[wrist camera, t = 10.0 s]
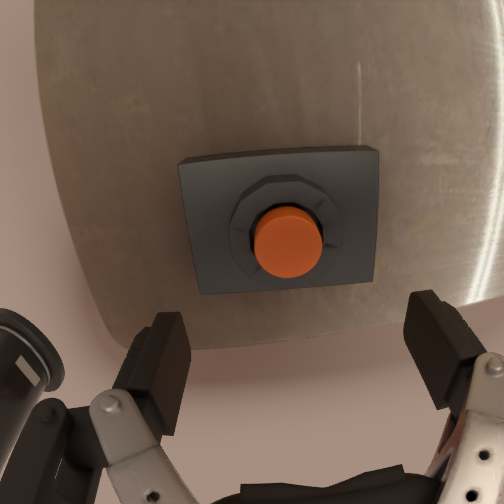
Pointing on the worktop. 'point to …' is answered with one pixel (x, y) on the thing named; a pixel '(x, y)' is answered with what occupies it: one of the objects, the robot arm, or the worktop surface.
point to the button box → (277, 195)
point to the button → (287, 242)
